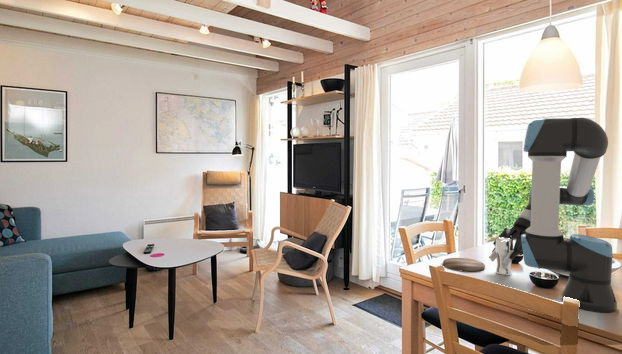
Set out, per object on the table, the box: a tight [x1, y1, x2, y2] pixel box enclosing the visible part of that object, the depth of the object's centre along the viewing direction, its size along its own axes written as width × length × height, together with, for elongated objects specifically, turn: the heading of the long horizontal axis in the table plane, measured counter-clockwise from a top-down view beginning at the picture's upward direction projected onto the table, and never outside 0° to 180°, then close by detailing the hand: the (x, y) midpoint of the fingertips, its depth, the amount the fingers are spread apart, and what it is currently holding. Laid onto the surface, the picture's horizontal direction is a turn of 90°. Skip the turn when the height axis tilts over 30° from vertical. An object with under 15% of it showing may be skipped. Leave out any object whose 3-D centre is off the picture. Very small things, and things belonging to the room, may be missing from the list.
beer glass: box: [494, 237, 514, 276], centre depth 160 cm, size 7×7×15 cm
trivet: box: [442, 257, 486, 273], centre depth 171 cm, size 18×18×1 cm
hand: (497, 261), depth 159 cm, fingers closed on beer glass, 7 cm apart
